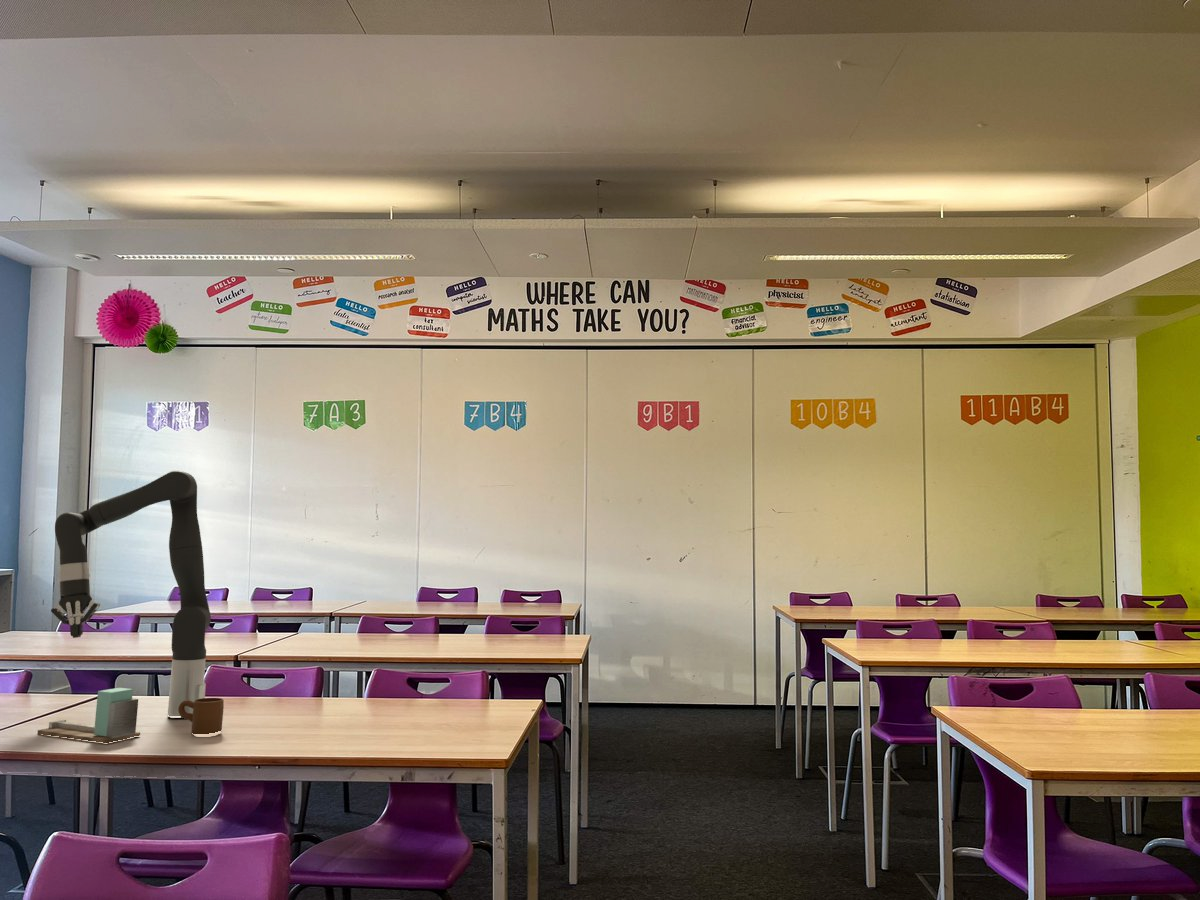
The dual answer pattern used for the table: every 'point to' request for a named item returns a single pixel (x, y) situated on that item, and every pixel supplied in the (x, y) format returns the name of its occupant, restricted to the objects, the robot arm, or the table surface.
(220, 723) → the mug
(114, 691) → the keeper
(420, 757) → the table surface
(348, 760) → the table surface
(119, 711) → the rail
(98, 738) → the board
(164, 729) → the table surface
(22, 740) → the table surface
